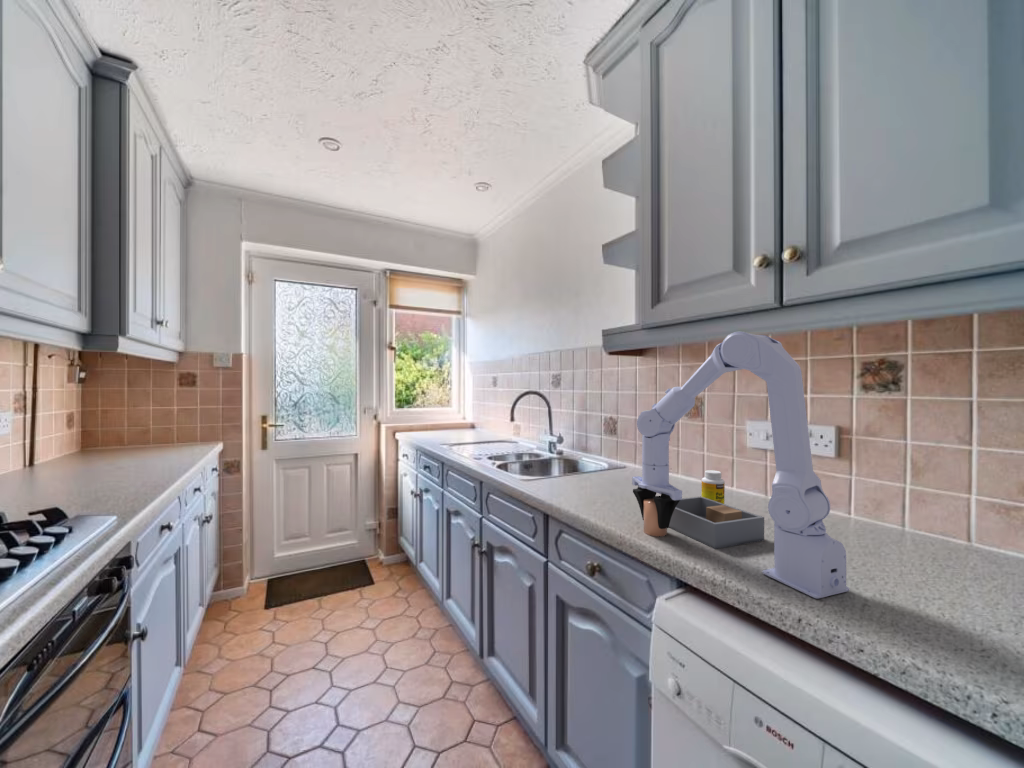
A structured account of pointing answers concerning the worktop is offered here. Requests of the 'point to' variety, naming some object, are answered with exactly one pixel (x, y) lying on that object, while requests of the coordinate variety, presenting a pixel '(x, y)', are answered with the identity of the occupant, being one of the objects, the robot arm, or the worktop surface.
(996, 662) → the worktop surface
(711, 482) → the supplement bottle
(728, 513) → the walnut block
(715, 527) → the tote
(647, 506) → the terracotta cylinder
